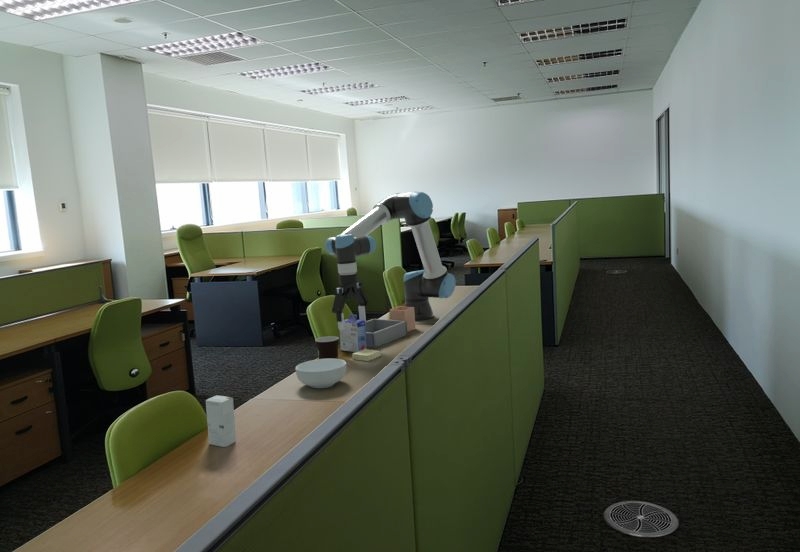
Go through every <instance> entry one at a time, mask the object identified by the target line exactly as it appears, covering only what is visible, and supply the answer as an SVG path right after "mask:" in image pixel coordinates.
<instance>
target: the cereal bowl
mask: <svg viewBox="0 0 800 552" xmlns="http://www.w3.org/2000/svg"><path fill="white" fill-rule="evenodd" d="M347 368H348V367H347V362H346V360H344V359H340V358H338V359H332V358H328V359H319V358H317V359H313V360H308V361H304V362H301V363H299V364H297V365H296V366H295V373H296V374H295V375H296V377H297V379H298V380H299V382H300V383H301V384H303V385H306V386H310V387H311V388H313V389H326V388H327V389H328V388H331V387H333V386H334V385H335V384H336V383H338V382H340V381H342V380H343V378H345V377H346V374H347Z"/></svg>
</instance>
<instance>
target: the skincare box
mask: <svg viewBox="0 0 800 552" xmlns="http://www.w3.org/2000/svg"><path fill="white" fill-rule="evenodd" d="M234 409H235V407H234V398H233V397H231V396H227V395H226V396H224V395H219V394H218V395H217V394H216V395H213V396H212V397H209V398H207V399H205V410H206V421H207V423H206V424H207V433H208V434H207V435H208V443H209V445H213V446H216V447H222V448H226V447H228V446H231V445H232V444H234V443H235V442H237V438H236V423H235V410H234Z"/></svg>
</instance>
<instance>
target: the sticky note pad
mask: <svg viewBox="0 0 800 552" xmlns="http://www.w3.org/2000/svg"><path fill="white" fill-rule="evenodd" d="M351 355H352V356H351V357H352V360H357V361H363V360H364V361H365V362H369V360H370V361H372V360H375V359H377V358H379V357H378V356H380V357H381V351H380V350H374V349H369V348H367V349H364V350H361V351H358V352H353V353H352V354H351ZM376 357H377V358H376ZM374 358H375V359H374ZM371 359H372V360H371Z"/></svg>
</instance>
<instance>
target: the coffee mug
mask: <svg viewBox="0 0 800 552" xmlns="http://www.w3.org/2000/svg"><path fill="white" fill-rule="evenodd" d="M314 341H315V345H316V346H315V347H316V350H317V355H318V359H328V358H332V359H339V342H340V337H338V336H334V335H332V336H328V335H327V336H321V337H318V338H316V339H315V340H314Z"/></svg>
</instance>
